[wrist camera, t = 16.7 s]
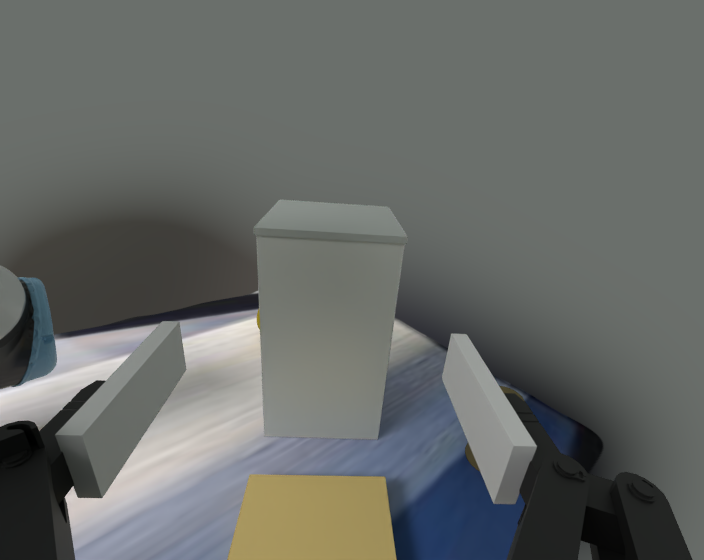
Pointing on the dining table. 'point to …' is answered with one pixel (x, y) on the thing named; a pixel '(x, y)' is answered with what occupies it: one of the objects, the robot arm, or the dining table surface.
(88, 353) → the dining table surface
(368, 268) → the tall white upright box
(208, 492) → the dining table surface
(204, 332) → the dining table surface
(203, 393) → the dining table surface
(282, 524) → the paddle
